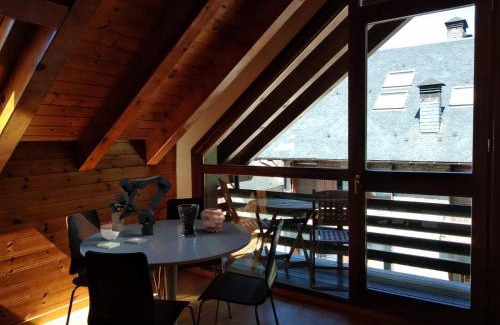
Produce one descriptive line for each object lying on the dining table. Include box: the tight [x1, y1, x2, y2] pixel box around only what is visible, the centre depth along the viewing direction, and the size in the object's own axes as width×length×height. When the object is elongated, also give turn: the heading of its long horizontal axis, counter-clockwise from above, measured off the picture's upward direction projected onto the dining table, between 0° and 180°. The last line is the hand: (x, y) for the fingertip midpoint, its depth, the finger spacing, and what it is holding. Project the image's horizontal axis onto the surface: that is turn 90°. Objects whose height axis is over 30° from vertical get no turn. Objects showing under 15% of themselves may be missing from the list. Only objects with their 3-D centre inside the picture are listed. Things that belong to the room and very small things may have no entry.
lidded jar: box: [100, 222, 120, 241], centre depth 229 cm, size 11×11×9 cm
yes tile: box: [96, 241, 121, 250], centre depth 212 cm, size 8×9×1 cm
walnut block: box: [111, 211, 125, 233], centre depth 218 cm, size 4×5×10 cm
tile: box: [125, 237, 148, 245], centre depth 221 cm, size 8×9×1 cm
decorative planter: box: [200, 207, 226, 233], centre depth 250 cm, size 20×12×14 cm, turn 57°
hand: (115, 219), depth 217 cm, fingers closed on walnut block, 5 cm apart
